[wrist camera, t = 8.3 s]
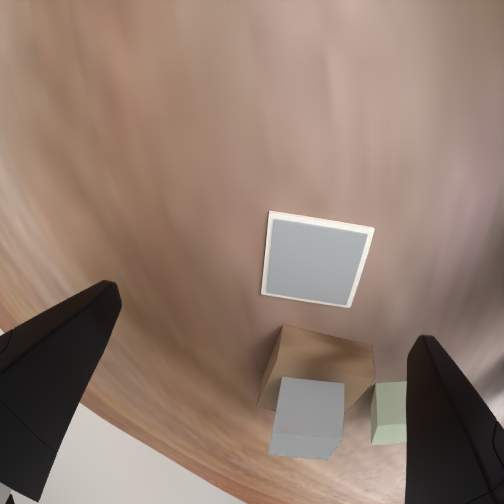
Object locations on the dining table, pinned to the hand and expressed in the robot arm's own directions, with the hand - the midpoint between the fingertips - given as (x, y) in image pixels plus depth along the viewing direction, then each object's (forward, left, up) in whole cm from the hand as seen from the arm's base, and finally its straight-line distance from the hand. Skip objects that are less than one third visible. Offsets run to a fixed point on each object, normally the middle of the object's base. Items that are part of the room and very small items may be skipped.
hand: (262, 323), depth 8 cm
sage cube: (-14, +21, -12) cm, 28 cm away
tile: (-2, +6, -12) cm, 14 cm away
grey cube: (-4, +17, -8) cm, 19 cm away
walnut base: (-4, +17, -12) cm, 21 cm away
